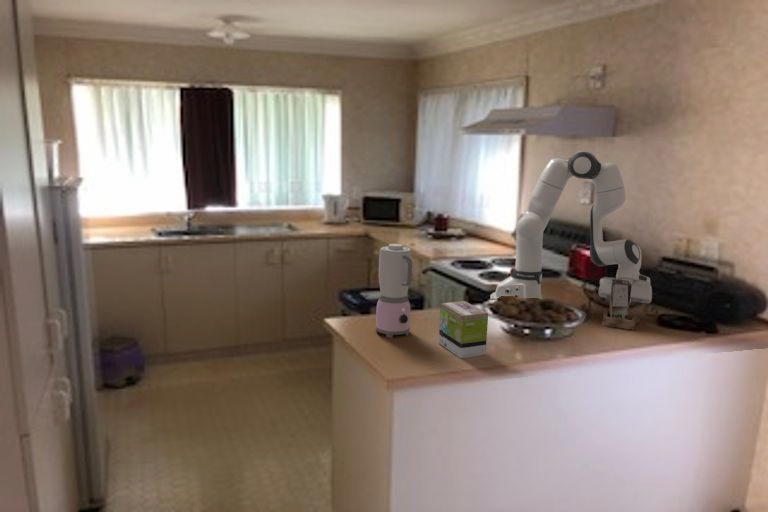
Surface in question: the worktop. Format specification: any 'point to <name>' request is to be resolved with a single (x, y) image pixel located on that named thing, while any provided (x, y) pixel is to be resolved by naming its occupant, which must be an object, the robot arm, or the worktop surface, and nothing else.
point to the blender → (394, 290)
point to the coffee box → (620, 299)
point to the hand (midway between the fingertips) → (622, 308)
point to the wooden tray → (619, 321)
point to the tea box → (463, 329)
